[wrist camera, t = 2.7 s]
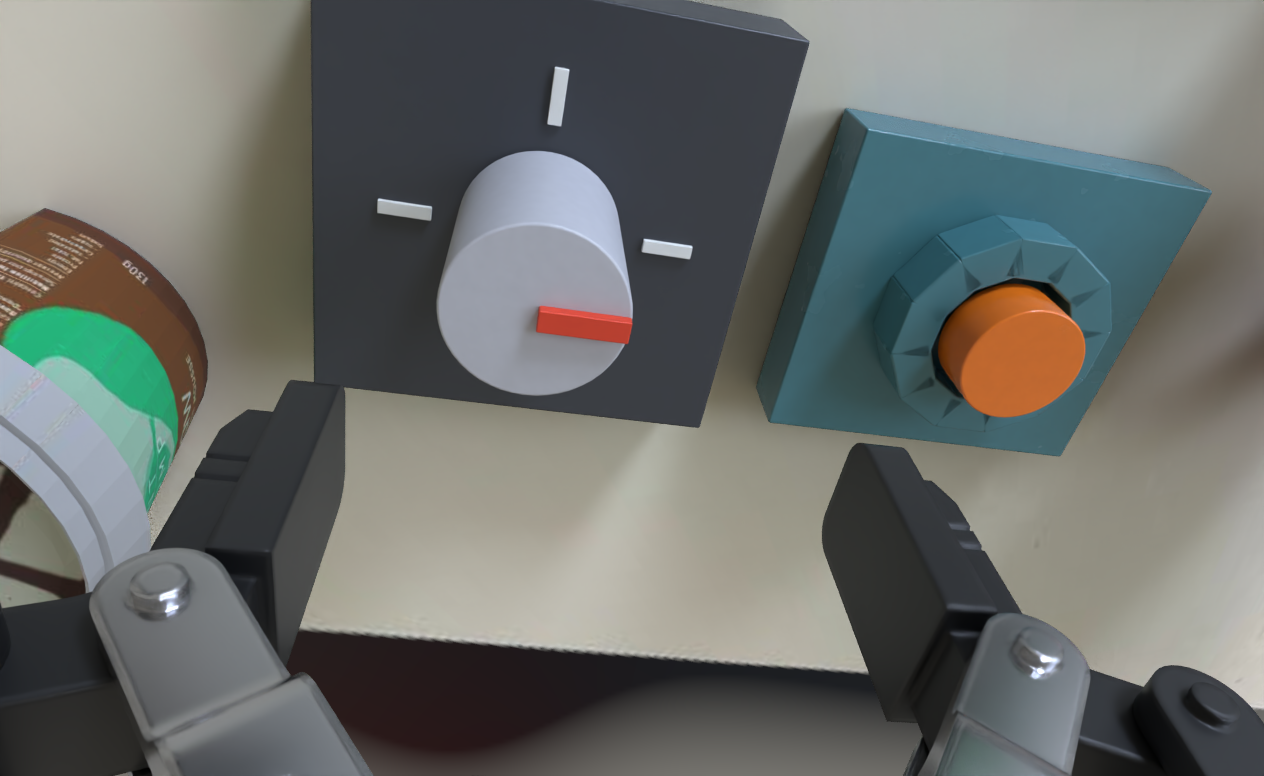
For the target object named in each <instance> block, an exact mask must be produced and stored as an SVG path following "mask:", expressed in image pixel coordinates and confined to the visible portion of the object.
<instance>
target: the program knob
mask: <svg viewBox="0 0 1264 776" xmlns="http://www.w3.org/2000/svg"><path fill="white" fill-rule="evenodd" d="M632 317H633V303H632V296H631V290H630V284H629V278H628V272H627V266H626V260H625V254H624V248H623V242H622V236H621V230H620V224H619V218H618V212H617V209H616V206H615V203H614V200H613V198H612V196H611V194H610V192H609V191H608V189H607V188H606V186H605V185H604V183H603V182H602V181H601V180H600V179H599V177H598V176H597V175H595V174H594V173H593V172H592V171H591V170H590V169H588V168H587V167H586V166H584V165H583V164H581V163H579V162H578V161H576V160H574V159H572V158H569V157H567V156H564V155H561V154H557V153H553V152H546V151H526V152H520V153H515V154H512V155H509V156H506V157H503V158H501V159H499V160H497V161H495V162H494V163H492V164H490V165H489V166H487V167H486V168H485V169H484V170H483V171H481V172H480V173H479V174H478V175H477V176H476V178H475V179H474V180H473V181H472V182H471V184H470V185H469V187H468V188H467V190H466V192H465V194H464V196H463V198H462V201H461V205H460V208H459V211H458V215H457V219H456V223H455V227H454V231H453V235H452V238H451V242H450V246H449V250H448V254H447V258H446V261H445V265H444V269H443V273H442V277H441V281H440V285H439V288H438V294H437V319H438V324H439V328H440V331H441V334H442V337H443V339H444V341H445V343H446V345H447V347H448V348H449V350H450V351H451V353H452V354H453V356H454V357H455V358H456V359H457V361H458V362H459V363H460V364H461V365H462V366H463V367H464V368H465V369H466V370H467V371H468V372H470V373H471V374H472V375H474V376H475V377H477V378H478V379H479V380H481V381H483V382H485V383H487V384H489V385H491V386H493V387H495V388H498V389H500V390H504V391H507V392H511V393H516V394H521V395H533V396H540V395H552V394H558V393H562V392H566V391H570V390H573V389H575V388H578V387H580V386H582V385H584V384H586V383H588V382H590V381H592V380H593V379H595V378H596V377H597V376H599V375H600V374H602V373H603V372H604V371H605V370H606V369H607V368H608V367H609V366H610V365H611V364H612V363H613V361H614V360H615V359H616V358H617V357H618V355H619V354H620V352H621V350H622V349H623V347H624V345H625V344H628V342H629V338H630V333H631V329H632Z"/></svg>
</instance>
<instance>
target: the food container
mask: <svg viewBox="0 0 1264 776" xmlns="http://www.w3.org/2000/svg"><path fill="white" fill-rule="evenodd" d="M207 369H208V360H207V355H206V349H205V344H204V340H203V338H202V335H201V332H200V330H199V327H198V324H197V322H196V320H195V318H194V317H193V315H192V313H191V311H190V310H189V308H188V306H187V304H186V303H185V301H184V300H183V299H182V297H181V296H180V295H179V294H178V292H177V291H176V290H175V289H174V287H173V286H172V285H171V283H170V282H169V281H168V280H167V279H166V278H165V277H164V276H163V275H162V274H161V273H160V272H159V271H158V270H157V269H156V268H155V267H154V266H152V265H151V264H150V263H149V262H148V261H147V260H145V259H144V258H143V257H141V256H140V255H139V254H137V253H136V252H135V251H134V250H132V249H131V248H130V247H128V246H127V245H125V244H124V243H122V242H120V241H119V240H117V239H115V238H114V237H112V236H110V235H109V234H107V233H105V232H104V231H102V230H100V229H97V228H95V227H93V226H91V225H89V224H87V223H85V222H82V221H80V220H78V219H76V218H73V217H70V216H67V215H64V214H61V213H58V212H55V211H52V210H49V209H46V208H44V209H42V210H41V211H39V212H37V213H35V214H33V215H31V216H30V217H28V218H26V219H24V220H22V221H20V222H18V223H17V224H15V225H13V226H11V227H9V228H7V229H5V230H4V231H2V232H0V603H1V607H2V608H6V607H13V606H19V605H26V604H32V603H38V602H45V601H51V600H57V599H64V598H69V597H74V596H78V595H82V594H85V593H89V592H92V591H93V589H94V588H95V586H96V584H97V583H98V582H99V581H100V579H101V578H102V577H103V576H104V575H105V574H106V573H107V572H109V571H110V570H111V569H112V568H114V567H115V566H117V565H118V564H120V563H122V562H123V561H125V560H127V559H129V558H131V557H134V556H137V555H139V554H142V553H146V552H149V551H150V549H151V537H150V523H149V519H148V515H147V513H148V511H149V509H150V507H151V505H152V503H153V501H154V499H155V497H156V494H157V492H158V490H159V488H160V486H161V484H162V482H163V480H164V478H165V475H166V473H167V471H168V469H169V467H170V465H171V463H172V461H173V459H174V457H175V454H176V452H177V450H178V448H179V446H180V444H181V442H182V440H183V438H184V435H185V433H186V431H187V429H188V427H189V425H190V423H191V421H192V419H193V416H194V414H195V412H196V410H197V408H198V406H199V404H200V402H201V400H202V398H203V395H204V391H205V387H206V382H207Z"/></svg>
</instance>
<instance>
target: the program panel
mask: <svg viewBox="0 0 1264 776" xmlns="http://www.w3.org/2000/svg"><path fill="white" fill-rule="evenodd" d="M808 46H809V41H808V40H807V39H806V38H804V37H803V36H802V35H801V34H799V33H798V32H797V31H796V30H794V29H793V28H792V27H791V26H789V25H788V24H787V23H786V22H784V21H783V20H782V19H777V18H772V17H767V16H762V15H757V14H752V13H747V12H742V11H737V10H732V9H727V8H722V7H717V6H712V5H707V4H702V3H697V2H692V1H687V0H311V94H312V203H313V313H314V382H316V383H325V384H334V385H342V386H343V387H346V388H355V389H364V390H372V391H381V392H390V393H398V394H407V395H416V396H425V397H433V398H442V399H451V400H460V401H468V402H477V403H486V404H494V405H503V406H512V407H521V408H529V409H538V410H547V411H556V412H564V413H573V414H582V415H591V416H599V417H608V418H617V419H625V420H634V421H643V422H652V423H660V424H669V425H678V426H687V427H695V428H699V427H700V424H701V421H702V417H703V414H704V410H705V407H706V403H707V400H708V396H709V393H710V389H711V386H712V382H713V379H714V375H715V372H716V368H717V365H718V361H719V358H720V354H721V351H722V347H723V344H724V340H725V337H726V333H727V330H728V326H729V323H730V319H731V316H732V312H733V309H734V305H735V302H736V298H737V295H738V291H739V288H740V284H741V281H742V277H743V274H744V270H745V267H746V263H747V260H748V256H749V253H750V249H751V246H752V242H753V239H754V235H755V232H756V228H757V225H758V221H759V218H760V214H761V211H762V207H763V204H764V200H765V197H766V193H767V190H768V186H769V183H770V179H771V176H772V172H773V169H774V165H775V162H776V158H777V155H778V151H779V148H780V144H781V141H782V137H783V134H784V130H785V127H786V123H787V120H788V116H789V113H790V109H791V106H792V102H793V99H794V95H795V92H796V88H797V85H798V81H799V78H800V74H801V71H802V67H803V64H804V60H805V57H806V53H807V50H808ZM526 151H546V152H553V153H557V154H561V155H564V156H567V157H569V158H572V159H574V160H576V161H578V162H579V163H581V164H583V165H584V166H586V167H587V168H588V169H590V170H591V171H592V172H593V173H594V174H595V175H597V176H598V177H599V179H600V180H601V181H602V182H603V183H604V185H605V186H606V188H607V189H608V191H609V192H610V194H611V196H612V198H613V200H614V203H615V206H616V209H617V212H618V218H619V224H620V230H621V236H622V242H623V248H624V254H625V260H626V266H627V272H628V278H629V284H630V290H631V296H632V303H633V317H632V329H631V333H630V338H629V342H628V344H625V345H624V347H623V349H622V350H621V352H620V354H619V355H618V357H617V358H616V359H615V360H614V361H613V363H612V364H611V365H610V366H609V367H608V368H607V369H606V370H605V371H604V372H603V373H602V374H600V375H599V376H597V377H596V378H595V379H593V380H592V381H590V382H588V383H586V384H584V385H582V386H580V387H578V388H575V389H573V390H570V391H566V392H562V393H558V394H552V395H540V396H533V395H521V394H516V393H511V392H507V391H504V390H500V389H498V388H495V387H493V386H491V385H489V384H487V383H485V382H483V381H481V380H479V379H478V378H477V377H475V376H474V375H472V374H471V373H470V372H468V371H467V370H466V369H465V368H464V367H463V366H462V365H461V364H460V363H459V362H458V361H457V359H456V358H455V357H454V356H453V354H452V353H451V351H450V350H449V348H448V347H447V345H446V343H445V341H444V339H443V337H442V334H441V331H440V328H439V324H438V319H437V294H438V288H439V285H440V281H441V277H442V273H443V269H444V265H445V261H446V258H447V254H448V250H449V246H450V242H451V238H452V235H453V231H454V227H455V223H456V219H457V215H458V211H459V208H460V205H461V201H462V198H463V196H464V194H465V192H466V190H467V188H468V187H469V185H470V184H471V182H472V181H473V180H474V179H475V178H476V176H477V175H478V174H479V173H480V172H481V171H483V170H484V169H485V168H486V167H487V166H489V165H490V164H492V163H494V162H495V161H497V160H499V159H501V158H503V157H506V156H509V155H512V154H515V153H520V152H526Z"/></svg>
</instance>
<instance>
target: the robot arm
mask: <svg viewBox="0 0 1264 776" xmlns="http://www.w3.org/2000/svg"><path fill="white" fill-rule="evenodd" d="M344 478H345V390H344V387H343V386H342V385H334V384H325V383H316V382H306V381H297V380H290V381H289V382H288V384H287V386H286V388H285V389H284V391H283V393H282V395H281V397H280V399H279V401H278V403H277V405H276V407H275V409H274V411H273V412H269V411H259V410H249V409H248V410H246V411H245V412H244V413H242V414H241V415H239V416H238V417H236V418H235V419H234V420H232V421H231V422H229V423H228V424H227V425H225V426H224V427H222V428H221V429H220V431H219V432H218V434H217V436H216V437H215V439H214V441H213V443H212V444H211V446H210V448H209V449H208V451H207V453H206V458H203V460H202V461H201V463H200V465H199V467H198V468H197V470H196V472H195V477H194V478H192V479H191V480H190V482H189V484H188V486H187V487H186V489H185V491H184V492H183V494H182V496H181V498H180V499H179V501H178V503H177V504H176V506H175V508H174V510H173V511H172V513H171V515H170V516H169V518H168V520H167V522H166V523H165V525H164V527H163V528H162V530H161V532H160V534H159V535H158V537H157V539H156V540H155V542H154V544H153V546H152V547H151V549H150V551H149V552H146V553H142V554H139V555H137V556H134V557H131V558H129V559H127V560H125V561H123V562H122V563H120V564H118V565H117V566H115V567H114V568H112V569H111V570H110V571H109V572H107V573H106V574H105V575H104V576H103V577H102V578H101V579H100V581H99V582H98V583H97V584H96V586H95V588H94V589H93V591H92V592H89V593H85V594H82V595H78V596H74V597H69V598H64V599H57V600H51V601H45V602H38V603H32V604H26V605H19V606H13V607H6V608H2V607H1V603H0V776H115V775H119V774H123V773H128V776H373V774H372V773H371V771H370V769H369V768H368V766H367V765H366V763H365V761H364V760H363V758H362V757H361V755H360V753H359V752H358V750H357V749H356V747H355V745H354V744H353V742H352V741H351V739H350V737H349V736H348V734H347V733H346V731H345V729H344V728H343V726H342V725H341V723H340V721H339V720H338V718H337V717H336V715H335V714H334V712H333V710H332V708H331V707H330V705H329V704H328V702H327V700H326V699H325V697H324V696H323V694H322V693H321V691H320V689H319V688H318V686H317V685H316V683H315V682H314V681H313V680H312V678H311V677H309V676H308V675H307V674H306V673H304V672H300V673H298V674H296V675H294V676H291V675H290V674H289V673H288V671H287V670H286V665H287V663H288V660H289V657H290V653H291V651H292V647H293V645H294V641H295V638H296V635H297V633H298V630H299V627H300V624H301V621H302V618H303V615H304V612H305V609H306V606H307V603H308V600H309V597H310V594H311V591H312V588H313V585H314V582H315V579H316V576H317V573H318V570H319V567H320V564H321V561H322V558H323V555H324V552H325V549H326V546H327V543H328V540H329V537H330V534H331V531H332V528H333V525H334V522H335V519H336V516H337V513H338V510H339V506H340V503H341V498H342V493H343V486H344ZM822 544H823V550H824V553H825V556H826V559H827V561H828V564H829V567H830V569H831V572H832V575H833V578H834V580H835V583H836V586H837V588H838V591H839V594H840V596H841V599H842V602H843V604H844V607H845V610H846V613H847V615H848V618H849V621H850V623H851V626H852V629H853V631H854V634H855V637H856V639H857V642H858V645H859V648H860V650H861V653H862V656H863V658H864V661H865V664H866V666H867V669H868V672H869V674H870V677H871V680H872V683H873V685H874V688H875V691H876V693H877V696H878V699H879V701H880V704H881V707H882V709H883V712H884V715H885V717H886V720H887V721H891V722H909V723H918V725H919V727H920V730H921V732H922V736H921V738H920V740H919V741H918V743H917V745H916V747H915V748H914V750H913V753H912V755H911V757H910V760H909V762H908V765H907V767H906V770H905V772H904V774H903V776H1264V723H1263V722H1262V720H1261V719H1260V718H1259V716H1258V715H1257V714H1256V712H1255V711H1254V710H1253V709H1252V708H1251V706H1250V705H1249V704H1248V703H1247V702H1246V701H1245V700H1244V699H1243V698H1241V697H1240V696H1239V695H1238V694H1237V693H1235V692H1234V691H1233V690H1232V689H1230V688H1229V687H1227V686H1226V685H1225V684H1223V683H1221V682H1220V681H1218V680H1216V679H1215V678H1213V677H1211V676H1209V675H1207V674H1205V673H1202V672H1200V671H1197V670H1195V669H1191V668H1188V667H1183V666H1174V665H1170V666H1164V667H1162V668H1159V669H1158V670H1157V671H1156V672H1155V673H1154V674H1153V675H1152V677H1151V678H1150V679H1149V681H1148V682H1147V683H1146V685H1145V686H1144V687H1142V686H1139V685H1136V684H1133V683H1130V682H1127V681H1124V680H1121V679H1118V678H1115V677H1112V676H1109V675H1106V674H1103V673H1100V672H1097V671H1093V670H1091V669H1089V666H1088V664H1087V661H1086V660H1085V658H1084V656H1083V655H1082V653H1081V652H1080V651H1079V649H1078V648H1077V647H1076V646H1075V645H1074V644H1073V643H1072V642H1071V641H1070V640H1069V639H1068V638H1067V637H1066V636H1065V635H1064V634H1062V633H1061V632H1060V631H1058V630H1057V629H1055V628H1054V627H1052V626H1050V625H1049V624H1047V623H1045V622H1043V621H1041V620H1039V619H1036V618H1034V617H1031V616H1028V615H1024V614H1022V612H1021V611H1020V609H1019V607H1018V606H1017V604H1016V602H1015V601H1014V599H1013V597H1012V596H1011V594H1010V592H1009V591H1008V589H1007V587H1006V586H1005V584H1004V582H1003V581H1002V579H1001V577H1000V576H999V574H998V572H997V571H996V569H995V567H994V566H993V564H992V562H991V561H990V559H989V557H988V556H987V554H986V552H985V551H982V550H981V547H982V546H981V544H980V542H979V541H978V539H977V537H976V536H975V534H974V532H973V531H970V526H969V524H968V522H967V521H966V519H965V517H964V516H963V514H962V512H961V511H960V509H959V507H958V505H957V504H956V503H955V502H954V501H953V500H952V499H951V498H950V497H949V496H948V495H947V494H946V493H944V492H943V491H942V490H941V489H940V488H939V487H938V486H937V485H936V484H934V483H933V482H932V481H927V480H923V478H922V476H921V474H920V473H919V471H918V469H917V467H916V466H915V464H914V462H913V460H912V459H911V457H910V455H909V453H908V452H907V451H906V450H905V449H904V448H902V447H893V446H883V445H874V444H865V443H857V444H855V445H854V446H853V447H852V449H851V450H850V452H849V454H848V457H847V459H846V462H845V464H844V467H843V469H842V472H841V475H840V477H839V480H838V482H837V485H836V487H835V490H834V492H833V495H832V498H831V500H830V503H829V505H828V508H827V510H826V513H825V516H824V520H823V526H822Z"/></svg>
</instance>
